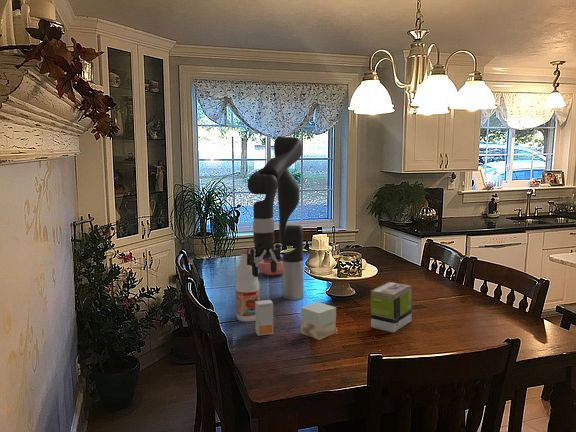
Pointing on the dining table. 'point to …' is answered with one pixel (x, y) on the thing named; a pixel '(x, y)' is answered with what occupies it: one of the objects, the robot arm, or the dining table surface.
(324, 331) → the lower block
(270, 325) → the skincare box
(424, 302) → the dining table surface
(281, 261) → the cell model
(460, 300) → the dining table surface
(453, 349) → the dining table surface
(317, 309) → the upper block
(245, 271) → the fruit juice
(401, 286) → the tea box
